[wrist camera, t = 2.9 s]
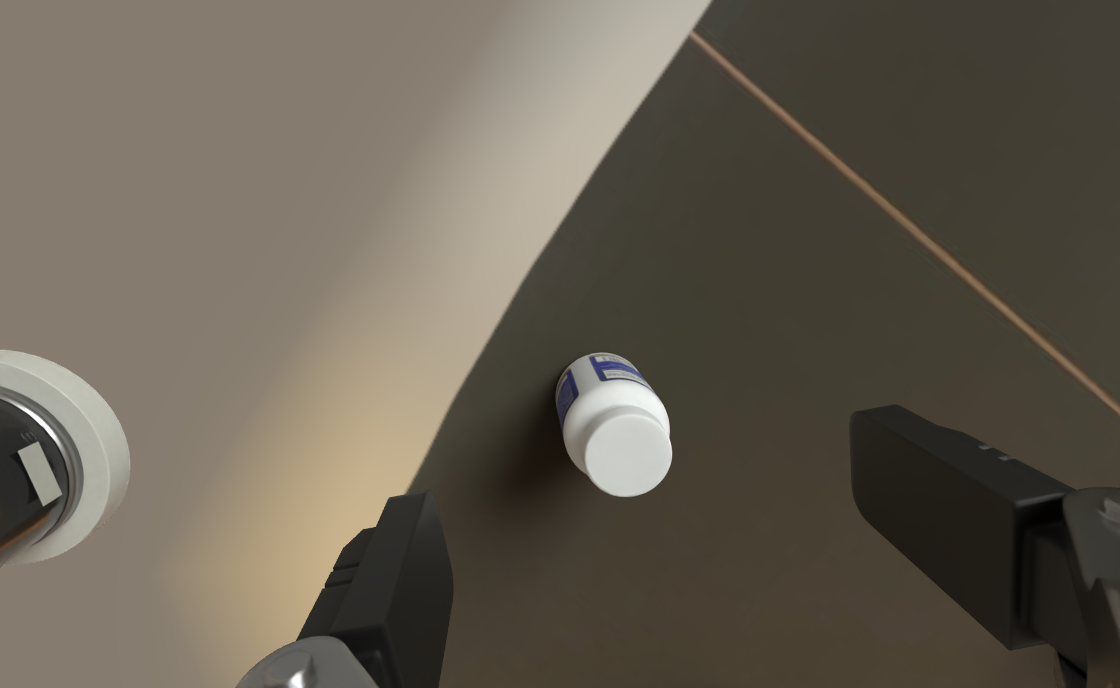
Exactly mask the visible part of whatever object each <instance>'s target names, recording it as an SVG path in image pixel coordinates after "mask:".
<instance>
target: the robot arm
mask: <svg viewBox="0 0 1120 688" xmlns="http://www.w3.org/2000/svg"><path fill="white" fill-rule="evenodd" d="M849 436H850V458H851V479H852V491H853V496H854V499H855V502H856V505H857V507H858V509H859V511H860V513H861V514H862V516H863V517H864V518H865V520H866V521H867V522H868V523H869V524H870V525H872V526H873V527H874V528H875V529H876V530H877V531H878V532H879V533H880V534H882V535H883V536H884V537H885V538H886V539H887V540H888V541H889V542H890V543H891V544H893V545H894V546H895V547H896V548H897V549H898V550H899V551H900V552H901V553H902V554H904V555H905V556H906V557H907V558H908V559H909V560H910V561H911V562H912V563H914V564H915V565H916V566H917V567H918V568H919V569H920V570H921V571H922V572H923V573H925V574H926V575H927V576H928V577H929V578H930V579H931V580H932V581H933V582H935V583H936V584H937V585H938V586H939V587H940V588H941V589H942V590H943V591H944V592H946V593H947V594H948V595H949V596H950V597H951V598H952V599H953V600H954V601H955V602H957V603H958V604H959V605H960V606H961V607H962V608H963V609H964V610H965V611H967V612H968V613H969V614H970V615H971V616H972V617H973V618H974V619H975V620H976V621H978V622H979V623H980V624H981V625H982V626H983V627H984V628H985V629H986V630H988V631H989V632H990V633H991V634H992V635H993V636H994V637H995V638H996V639H997V640H999V641H1000V642H1001V643H1002V644H1003V645H1004V646H1005V647H1006V648H1007V649H1008V650H1010V651H1011V650H1016V649H1021V648H1026V647H1031V646H1036V645H1041V644H1046V643H1049V644H1050V645H1051V646H1052V647H1054V648H1055V655H1054V674H1055V680H1056V685H1057V688H1120V488H1115V487H1092V488H1084V489H1079V490H1075V489H1073V488H1071V487H1069V486H1067V485H1065V484H1063V483H1061V482H1059V481H1058V480H1056V479H1054V478H1052V477H1050V476H1048V475H1046V474H1044V473H1042V472H1040V471H1038V470H1036V469H1034V468H1032V467H1030V466H1028V465H1026V464H1024V463H1022V462H1020V461H1018V460H1016V459H1010V457H1009V455H1007V454H1005V453H1003V452H1001V451H999V450H997V449H995V448H989V445H987V444H985V443H983V442H981V441H979V440H977V439H975V438H973V437H971V436H969V435H967V434H965V433H963V432H960V431H956V430H952V429H949V428H945V427H941V426H938V425H935V424H934V423H932V422H930V421H928V420H926V419H924V418H922V417H920V416H918V415H916V414H915V413H913V412H911V411H909V410H907V409H905V408H903V407H901V406H899V405H889V406H884V407H878V408H873V409H868V410H862V411H857V412H854V413H853V414H852V416H851V418H850V422H849ZM83 484H84V474H83V466H82V461H81V458H80V455H79V452H78V449H77V447H76V445H75V443H74V441H73V439H72V438H71V436H70V435H69V433H68V432H67V430H66V429H65V428H64V426H63V425H62V424H61V423H60V422H59V421H58V420H57V419H56V418H55V416H54V415H52V414H51V413H50V412H49V411H48V410H47V409H45V408H44V407H43V406H41V405H40V404H38V403H37V402H35V401H34V400H32V399H30V398H29V397H27V396H25V395H23V394H21V393H18V392H16V391H13V390H11V389H8V388H5V387H1V386H0V567H1V566H3V565H4V564H5V563H7V562H8V561H10V560H11V559H13V558H14V557H15V556H17V555H18V554H20V553H21V552H23V551H24V550H25V549H27V548H28V547H30V546H33V545H35V544H36V543H38V542H40V541H42V540H43V539H45V538H46V537H47V536H49V535H50V534H52V533H53V532H55V531H56V530H57V529H59V528H60V527H61V526H62V525H63V524H65V523H66V521H67V520H68V519H69V518H70V517H71V516H72V514H73V513H74V511H75V509H76V508H77V506H78V504H79V501H80V499H81V495H82V491H83ZM452 602H453V575H452V568H451V563H450V558H449V554H448V550H447V546H446V542H445V538H444V534H443V530H442V526H441V522H440V517H439V513H438V509H437V505H436V501H435V498H434V496H433V494H432V492H431V491H430V490H427V491H421V492H416V493H411V494H405V495H400V496H395V497H390V498H389V499H388V501H387V503H386V505H385V507H384V510H383V512H382V514H381V517H380V519H379V521H378V524H377V526H376V527H373V528H368V529H363V530H362V531H361V532H360V533H359V534H358V535H357V536H356V537H355V538H353V539H352V540H351V541H350V542H349V543H348V544H347V545H346V546H345V547H344V548H343V549H342V551H341V553H340V555H339V557H338V559H337V561H336V563H335V565H334V567H333V572H331V573H330V575H329V577H328V579H327V581H326V583H325V588H324V589H322V591H321V593H320V595H319V597H318V599H317V601H316V602H315V605H314V607H313V609H312V610H311V612H310V614H309V616H308V618H307V620H306V622H305V624H304V626H303V628H302V630H301V632H300V634H299V636H298V638H297V640H296V641H295V642H292V643H290V644H288V645H285V646H283V647H282V648H280V649H278V650H276V651H274V652H273V653H271V654H269V655H268V656H266V657H265V658H264V659H262V660H261V661H260V662H258V663H257V664H256V665H255V666H254V667H253V668H252V669H250V670H249V671H248V672H247V674H246V675H245V676H244V677H243V678H242V679H241V680H240V682H239V683H238V685H237V686H236V688H438V686H439V680H440V674H441V668H442V662H443V656H444V650H445V644H446V638H447V632H448V626H449V620H450V614H451V608H452Z"/></svg>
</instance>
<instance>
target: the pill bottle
mask: <svg viewBox="0 0 1120 688" xmlns="http://www.w3.org/2000/svg"><path fill="white" fill-rule="evenodd" d="M556 407H557V411H558V416H559V420H560V425H561V430H562V434H563V439H564V443H565V446H566V449H567V452H568V454H569V456H570V458H571V460H572V461H573V462H574V464H575V465H576V466H577V467H578V468H579V469H580V470H581V471H582V472H584V473H585V474H587V475H588V476H589V478H590V479H591V481H592V482H593V483H594V484H595V485H596V486H597V487H598V488H600V489H601V490H602V491H604V492H606V493H608V494H611V495H614V496H619V497H632V496H637V495H641V494H644V493H646V492H648V491H650V490H651V489H653V488H654V487H655V486H657V485H658V484H659V483H660V482H661V481H662V479H663V478H664V477H665V475H666V473H667V472H668V469H669V467H670V464H671V459H672V447H671V443H670V440H669V433H670V426H669V419H668V416H667V412H666V410H665V408H664V406H663V404H662V402H661V401H660V399H659V398H658V396H657V395H656V394H655V392H654V391H653V390H652V388H651V387H650V386H649V385H648V383H647V382H646V381H645V379H644V378H643V377H642V376H641V374H640V373H639V372H638V371H637V369H636V368H635V367H634V366H633V365H632V364H631V363H630V362H628V361H627V360H625V359H624V358H622V357H620V356H617V355H614V354H610V353H594V354H590V355H586V356H584V357H581V358H579V359H577V360H576V361H574V362H573V363H572V364H571V365H570V366H568V367H567V369H566V370H565V371H564V373H563V374H562V376H561V377H560V380H559V382H558V385H557V388H556Z"/></svg>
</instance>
